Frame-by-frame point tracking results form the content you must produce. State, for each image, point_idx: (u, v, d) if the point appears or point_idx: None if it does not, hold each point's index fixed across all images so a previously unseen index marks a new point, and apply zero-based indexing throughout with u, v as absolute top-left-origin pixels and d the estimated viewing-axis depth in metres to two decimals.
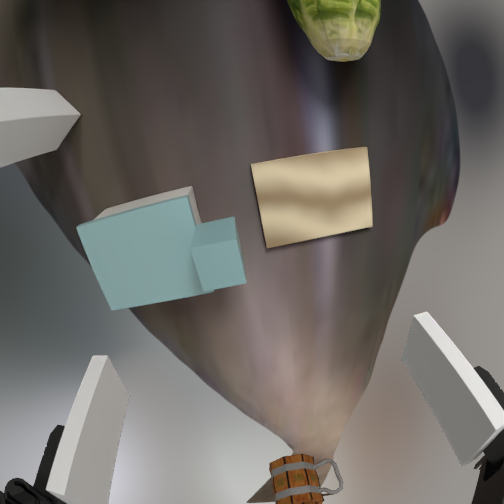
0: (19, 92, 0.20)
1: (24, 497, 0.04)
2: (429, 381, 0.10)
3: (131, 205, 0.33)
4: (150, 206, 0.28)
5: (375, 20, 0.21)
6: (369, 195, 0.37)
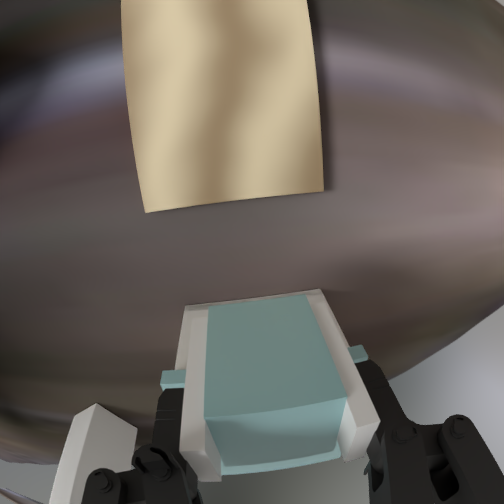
0: (58, 476, 0.19)
1: (157, 466, 0.06)
2: None
3: None
4: None
5: None
6: None
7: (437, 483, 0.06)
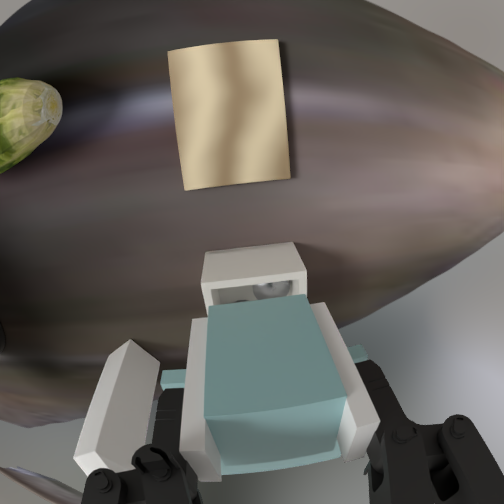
0: (94, 398, 0.31)
1: (157, 466, 0.06)
2: None
3: None
4: None
5: (3, 89, 0.17)
6: (232, 44, 0.24)
7: (437, 483, 0.06)
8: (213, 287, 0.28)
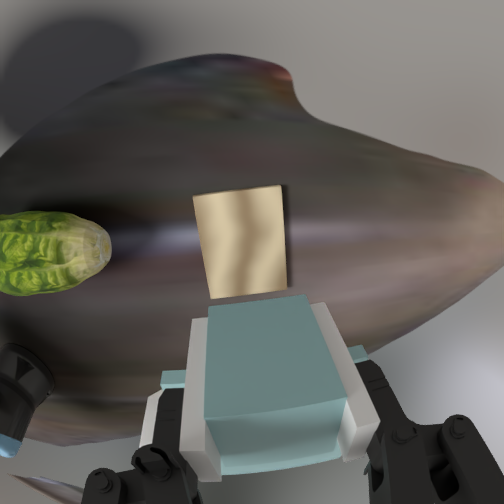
0: (144, 432, 0.44)
1: (157, 465, 0.06)
2: None
3: None
4: None
5: (61, 236, 0.29)
6: (244, 191, 0.37)
7: (437, 483, 0.06)
8: None
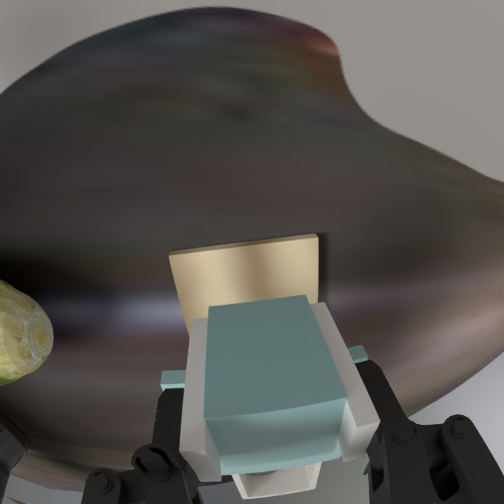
0: None
1: (157, 465, 0.06)
2: None
3: None
4: None
5: None
6: (257, 247, 0.22)
7: (437, 483, 0.06)
8: None
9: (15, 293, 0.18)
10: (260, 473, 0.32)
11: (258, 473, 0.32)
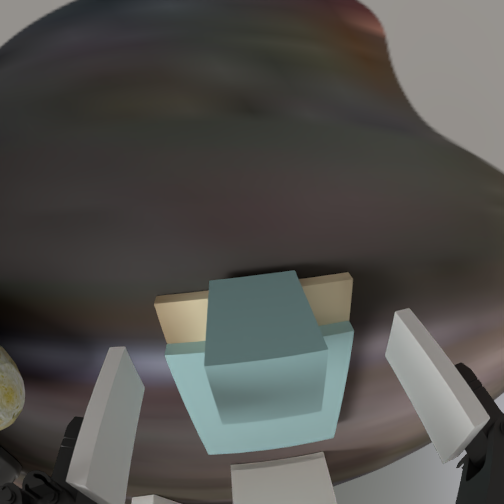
0: None
1: (43, 490, 0.05)
2: (411, 377, 0.10)
3: None
4: (181, 394, 0.18)
5: None
6: None
7: None
8: None
9: None
10: None
11: None
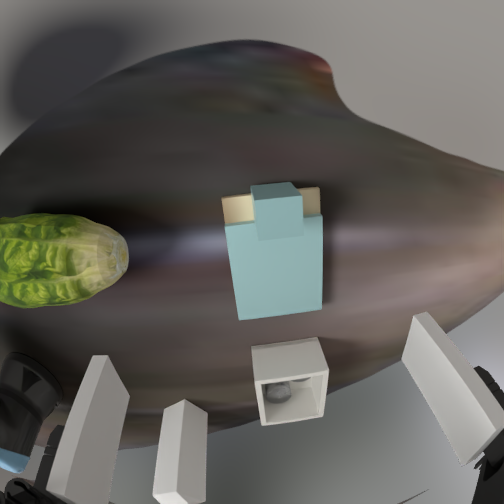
0: (161, 448, 0.41)
1: (24, 497, 0.04)
2: (429, 381, 0.10)
3: None
4: (229, 257, 0.35)
5: (71, 243, 0.26)
6: None
7: None
8: (263, 383, 0.37)
9: (103, 225, 0.30)
10: (276, 400, 0.44)
11: (274, 400, 0.44)
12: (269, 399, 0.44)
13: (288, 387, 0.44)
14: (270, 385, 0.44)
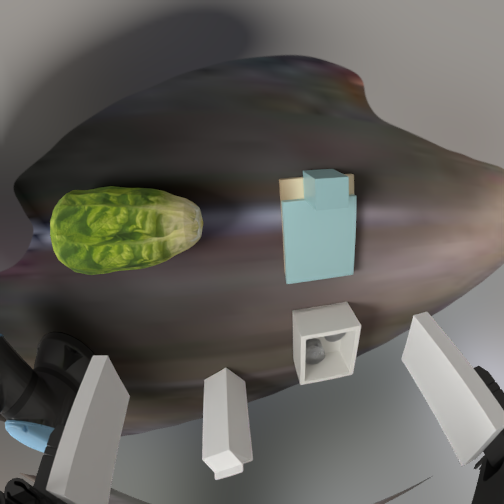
0: (207, 414, 0.48)
1: (24, 497, 0.04)
2: (429, 381, 0.10)
3: (295, 351, 0.51)
4: (284, 228, 0.43)
5: (160, 209, 0.33)
6: None
7: None
8: (307, 338, 0.45)
9: (182, 197, 0.37)
10: (311, 361, 0.52)
11: (310, 361, 0.51)
12: (306, 360, 0.51)
13: (322, 348, 0.51)
14: (307, 346, 0.51)
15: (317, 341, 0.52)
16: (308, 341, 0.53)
